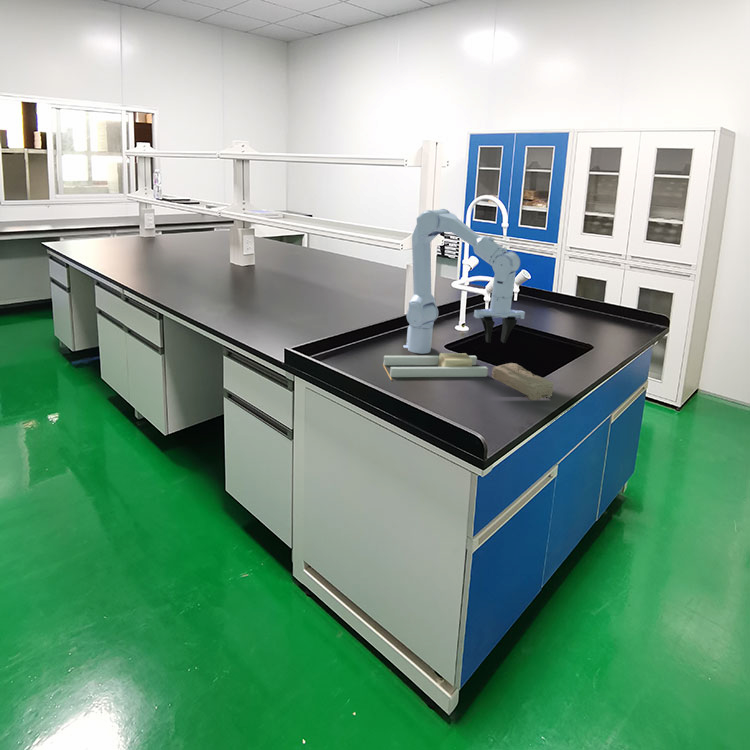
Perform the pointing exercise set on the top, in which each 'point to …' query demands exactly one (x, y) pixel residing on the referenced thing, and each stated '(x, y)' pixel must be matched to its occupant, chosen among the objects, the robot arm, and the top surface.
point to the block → (454, 360)
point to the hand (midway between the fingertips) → (495, 342)
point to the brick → (523, 381)
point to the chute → (429, 370)
